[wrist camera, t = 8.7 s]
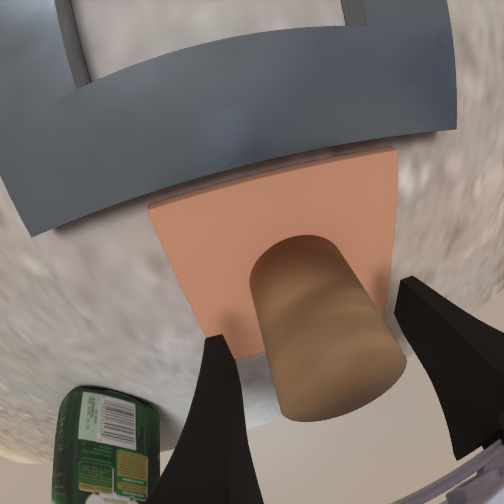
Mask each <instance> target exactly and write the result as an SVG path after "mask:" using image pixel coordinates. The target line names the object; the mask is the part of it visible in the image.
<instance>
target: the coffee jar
mask: <svg viewBox="0 0 504 504" xmlns="http://www.w3.org/2000/svg"><path fill="white" fill-rule="evenodd" d="M159 479H160V434H159V417H158V415H157V413H156V411H154V410H153V409H152V408H150V407H149V406H147V405H145V404H143V403H141V402H139V401H138V400H136V399H134V398H132V397H129V396H127V395H124V394H121V393H117V392H113V391H110V390H96V389H86V388H76V389H73V390H72V391H70V392H69V393H68V394H67V396H66V397H65V398H64V399H63V401H62V403H61V406H60V409H59V415H58V421H57V428H56V436H55V447H54V461H53V477H52V504H144V502H145V501H146V499H147V498H148V496H149V495H150V493H151V492H152V490H153V489H154V487H155V486H156V484H157V482H158V481H159Z"/></svg>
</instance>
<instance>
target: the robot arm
mask: <svg viewBox="0 0 504 504" xmlns="http://www.w3.org/2000/svg"><path fill="white" fill-rule="evenodd" d="M394 315H395V317H396V319H397V321H398V323H399V326H400V328H401V330H402V332H403V334H404V336H405V337H406V339H407V341H408V342H409V344H410V345H411V347H412V349H413V350H414V352H415V354H416V355H417V357H418V359H419V360H420V362H421V363H422V365H423V367H424V368H425V370H426V372H427V374H428V376H429V378H430V379H431V382H432V384H433V386H434V388H435V391H436V393H437V396H438V398H439V401H440V404H441V407H442V409H443V412H444V415H445V419H446V422H447V426H448V429H449V433H450V437H451V442H452V446H453V452H454V455H455V458H456V460H457V461H458V460H460V459H462V458H463V457H465V456H466V455H468V454H470V453H471V452H473V451H474V450H475V449H477V448H479V447H480V446H481V445H482V447H483V449H484V450H483V451H482V452H481V453H479V454H478V455H476V456H475V457H474V458H472V459H470V460H469V461H467V462H466V463H465V464H463V465H461V466H460V467H458V468H457V469H455V470H453V471H452V472H450V473H448V474H447V475H445V476H443V477H442V478H440V479H438V480H436V481H435V482H433V483H431V484H429V485H427V486H426V487H424V488H422V489H420V490H418V491H416V492H414V493H412V494H410V495H408V496H406V497H404V498H402V499H399V500H397V501H395V502H393V503H390V504H424V503H426V502H427V501H429V500H431V499H433V498H435V497H437V496H439V495H440V494H442V493H444V492H445V491H447V490H449V489H450V488H452V487H454V486H455V485H457V484H458V483H460V482H461V481H463V480H465V479H466V478H467V477H469V476H471V475H472V474H474V473H475V472H476V471H477V474H476V476H474V477H472V478H470V479H468V480H466V481H465V482H463V483H461V484H460V485H458V486H457V487H455V488H454V489H453V490H451V491H450V492H448V493H447V494H446V498H447V500H445V501H444V502H442V503H440V504H504V333H503V332H501V331H499V330H497V329H495V328H493V327H491V326H489V325H487V324H485V323H484V322H482V321H480V320H478V319H477V318H475V317H473V316H472V315H470V314H468V313H467V312H465V311H464V310H462V309H461V308H459V307H458V306H456V305H455V304H453V303H452V302H450V301H449V300H447V299H446V298H444V297H443V296H441V295H440V294H439V293H437V292H436V291H434V290H433V289H431V288H430V287H429V286H427V285H426V284H424V283H423V282H421V281H420V280H418V279H417V278H415V277H414V276H410V277H407V278H405V279H402V280H400V285H399V291H398V296H397V301H396V306H395V311H394ZM144 504H264V503H263V499H262V495H261V492H260V488H259V485H258V481H257V477H256V473H255V470H254V466H253V462H252V458H251V453H250V449H249V445H248V439H247V433H246V424H245V415H244V406H243V398H242V389H241V383H240V379H239V374H238V370H237V365H236V362H235V360H234V357H233V355H232V353H231V351H230V349H229V347H228V345H227V342H226V340H225V338H224V336H223V334H220V335H216V336H211V337H207V338H206V339H205V344H204V351H203V358H202V363H201V368H200V373H199V377H198V381H197V386H196V390H195V394H194V397H193V400H192V404H191V407H190V410H189V414H188V417H187V420H186V423H185V425H184V428H183V431H182V433H181V436H180V438H179V441H178V443H177V445H176V447H175V450H174V452H173V454H172V456H171V458H170V460H169V462H168V464H167V466H166V468H165V470H164V472H163V473H162V475H161V477H160V479H159V481H158V482H157V484H156V486H155V487H154V489H153V490H152V492H151V493H150V495H149V496H148V498H147V499H146V501H145V502H144Z"/></svg>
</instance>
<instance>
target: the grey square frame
mask: <svg viewBox="0 0 504 504" xmlns="http://www.w3.org/2000/svg"><path fill="white" fill-rule="evenodd" d="M341 3H342V7H343V12H344V17H345V22H346V26H323V27H306V28H294V29H284V30H275V31H268V32H261V33H254V34H248V35H242V36H237V37H232V38H227V39H222V40H217V41H213V42H208V43H204V44H200V45H196V46H192V47H189V48H185V49H181V50H178V51H174V52H171V53H168V54H165V55H161V56H158V57H155V58H152V59H149V60H146V61H144V62H141V63H138V64H135V65H133V66H130V67H127V68H125V69H122V70H120V71H117V72H115V73H112V74H110V75H107V76H105V77H103V78H101V79H98V80H96V81H94V82H92V83H91V80H90V77H89V73H88V70H87V67H86V63H85V59H84V56H83V52H82V48H81V44H80V40H79V36H78V32H77V28H76V24H75V20H74V15H73V11H72V6H71V1H70V0H0V176H1V178H2V180H3V182H4V185H5V187H6V189H7V191H8V193H9V195H10V197H11V199H12V201H13V203H14V205H15V207H16V209H17V211H18V213H19V215H20V217H21V219H22V221H23V223H24V225H25V226H26V228H27V230H28V232H29V234H30V235H31V237H34V236H37V235H39V234H41V233H43V232H46V231H48V230H51V229H53V228H55V227H58V226H60V225H63V224H65V223H68V222H70V221H73V220H75V219H78V218H80V217H83V216H85V215H88V214H91V213H93V212H96V211H99V210H101V209H104V208H107V207H110V206H112V205H115V204H118V203H121V202H124V201H127V200H130V199H132V198H135V197H138V196H141V195H144V194H147V193H151V192H154V191H157V190H160V189H163V188H166V187H169V186H173V185H176V184H179V183H183V182H186V181H189V180H193V179H196V178H200V177H203V176H207V175H210V174H214V173H217V172H221V171H225V170H229V169H232V168H236V167H240V166H244V165H248V164H252V163H256V162H260V161H265V160H269V159H273V158H277V157H282V156H286V155H291V154H296V153H300V152H305V151H310V150H315V149H320V148H325V147H330V146H336V145H341V144H347V143H353V142H359V141H365V140H371V139H378V138H385V137H392V136H399V135H407V134H415V133H424V132H433V131H443V130H454V129H456V127H457V89H456V69H455V56H454V46H453V37H452V30H451V23H450V17H449V11H448V5H447V0H341Z"/></svg>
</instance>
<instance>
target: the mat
mask: <svg viewBox="0 0 504 504" xmlns="http://www.w3.org/2000/svg"><path fill="white" fill-rule="evenodd" d="M397 184H398V150H397V149H395V148H393V147H385V148H379V149H373V150H367V151H362V152H356V153H351V154H345V155H340V156H335V157H330V158H325V159H320V160H315V161H311V162H306V163H301V164H297V165H292V166H288V167H283V168H279V169H275V170H271V171H267V172H262V173H258V174H254V175H250V176H246V177H243V178H239V179H235V180H231V181H227V182H224V183H220V184H216V185H213V186H209V187H205V188H202V189H198V190H195V191H192V192H188V193H185V194H181V195H178V196H175V197H171V198H168V199H165V200H162V201H159V202H155V203H152V204H149V206H148V209H147V211H148V214H149V216H150V219H151V221H152V223H153V226H154V228H155V230H156V233H157V235H158V237H159V239H160V242H161V244H162V246H163V249H164V251H165V253H166V255H167V257H168V260H169V262H170V264H171V266H172V268H173V271H174V273H175V275H176V277H177V279H178V281H179V283H180V285H181V288H182V290H183V292H184V294H185V296H186V298H187V300H188V302H189V304H190V306H191V308H192V310H193V312H194V314H195V316H196V318H197V320H198V322H199V324H200V326H201V328H202V330H203V332H204V334H205V336H206V337H211V336H216V335H220V334H223V336H224V338H225V340H226V342H227V345H228V347H229V349H230V351H231V353H232V355H233V357H234V360H235V359H239V358H244V357H248V356H252V355H255V354H259V353H263V352H266V350H265V346H264V342H263V338H262V334H261V330H260V326H259V322H258V318H257V314H256V310H255V306H254V302H253V298H252V294H251V290H250V284H249V280H250V274H251V271H252V268H253V266H254V264H255V263H256V261H257V260H258V258H259V257H260V256H261V255H262V254H263V253H264V252H265V251H266V250H267V249H269V248H270V247H271V246H273V245H274V244H276V243H278V242H280V241H282V240H284V239H287V238H290V237H293V236H298V235H316V236H320V237H323V238H326V239H328V240H330V241H331V242H332V243H334V244H335V245H336V246H337V248H338V249H339V251H340V252H341V254H342V255H343V257H344V258H345V260H346V261H347V263H348V264H349V266H350V267H351V269H352V270H353V272H354V273H355V275H356V276H357V278H358V279H359V281H360V282H361V284H362V286H363V287H364V289H365V290H366V292H367V293H368V295H369V297H370V298H371V300H372V301H373V303H374V305H375V306H376V308H377V309H378V311H379V313H380V314H381V315H383V314H384V309H385V303H386V297H387V291H388V284H389V277H390V270H391V262H392V253H393V244H394V233H395V221H396V206H397Z"/></svg>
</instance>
